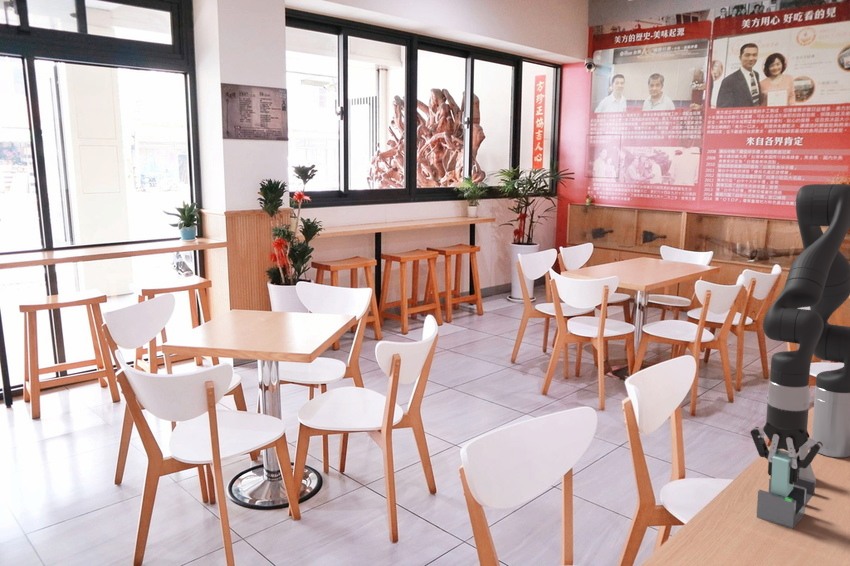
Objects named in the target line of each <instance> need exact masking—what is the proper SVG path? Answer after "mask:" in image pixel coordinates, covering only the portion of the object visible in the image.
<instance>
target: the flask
mask: <svg viewBox="0 0 850 566" xmlns="http://www.w3.org/2000/svg"><path fill="white" fill-rule="evenodd" d="M807 447H808V444H807V443H805V444H803V445H802V446H801V447H800V459H801V460H804V459H805V457H806V456H807V454H808V453H809V450H808V449H807ZM815 475H816V474H815V473H814V471H813V467H812V462H811V463H810V464H809V466H808V467H807V468H800V474H799V476H800V477H803V478H807V479H810V480H814V481H815V486H816V485H817V478H816V476H815Z"/></svg>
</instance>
